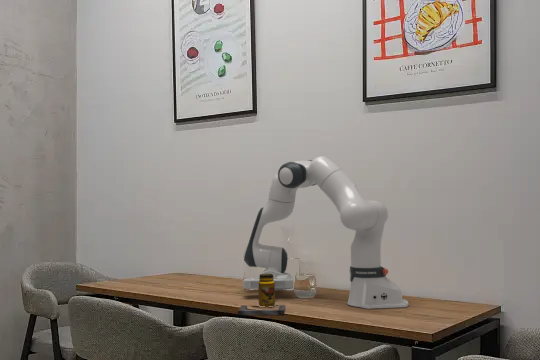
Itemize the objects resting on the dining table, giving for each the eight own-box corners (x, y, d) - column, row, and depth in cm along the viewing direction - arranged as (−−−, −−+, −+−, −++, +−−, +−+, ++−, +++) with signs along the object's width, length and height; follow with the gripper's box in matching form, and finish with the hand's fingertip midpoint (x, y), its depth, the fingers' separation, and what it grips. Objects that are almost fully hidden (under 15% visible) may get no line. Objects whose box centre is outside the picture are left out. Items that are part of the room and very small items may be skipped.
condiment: (270, 308, 229) (269, 276, 229) (250, 306, 233) (249, 274, 233) (279, 305, 235) (279, 273, 235) (260, 303, 239) (259, 272, 240)
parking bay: (285, 309, 226) (285, 305, 226) (283, 315, 216) (283, 310, 216) (241, 309, 228) (241, 305, 228) (238, 315, 218) (238, 310, 218)
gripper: (244, 273, 258) (240, 278, 244) (294, 273, 256) (292, 277, 242) (244, 288, 257) (240, 294, 244) (294, 288, 256) (292, 294, 242)
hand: (266, 286), depth 243 cm, fingers closed
